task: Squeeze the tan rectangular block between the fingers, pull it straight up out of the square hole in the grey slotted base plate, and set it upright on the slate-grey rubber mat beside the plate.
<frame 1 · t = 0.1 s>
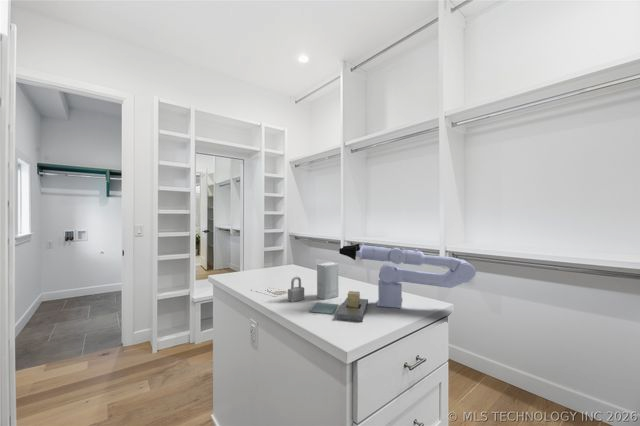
hand: (341, 249, 121), 22 cm above the countertop, tool horizontal, fingers open, 7 cm apart
padlock: (296, 300, 122), on the countertop
grey slotted base plate: (353, 311, 108), on the countertop
tan rectangular block: (353, 302, 108), in the grey slotted base plate
skincare box: (327, 297, 127), on the countertop
grooming comb: (269, 292, 136), on the countertop
rubber mat: (324, 308, 111), on the countertop
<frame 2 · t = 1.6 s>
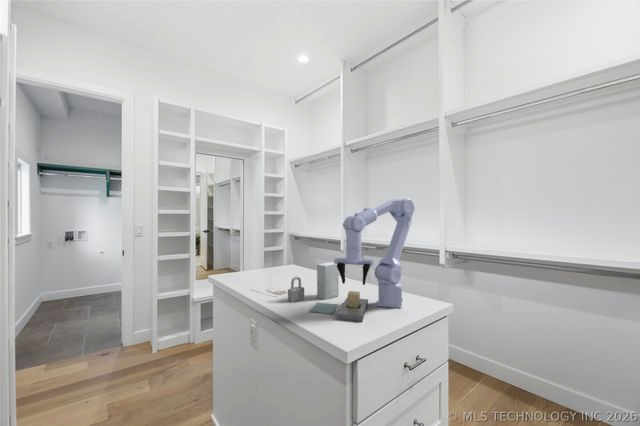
hand: (353, 283, 108), 10 cm above the countertop, tool pointing down, fingers open, 7 cm apart
nothing on the countertop moved.
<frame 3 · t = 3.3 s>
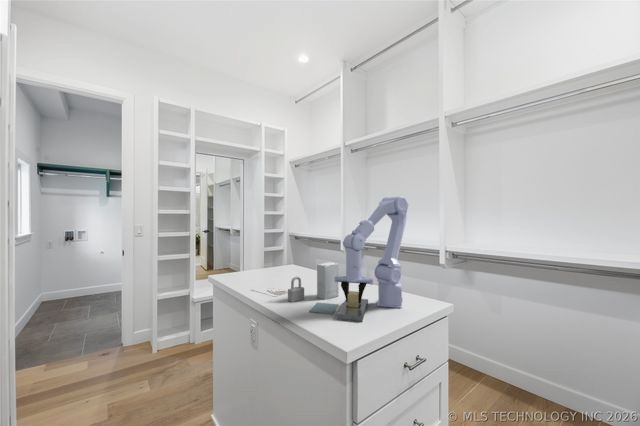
hand: (353, 302, 108), 3 cm above the countertop, tool pointing down, fingers closed on tan rectangular block, 4 cm apart
tan rectangular block: (353, 302, 108), in the grey slotted base plate, touching gripper
everything else where it was.
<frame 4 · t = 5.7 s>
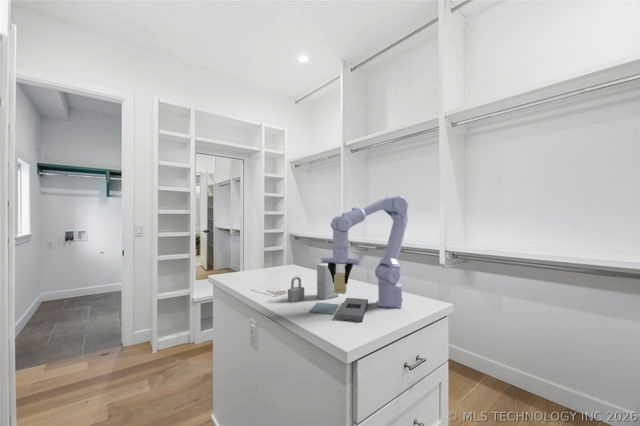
hand: (340, 283, 109), 10 cm above the countertop, tool pointing down, fingers closed on tan rectangular block, 4 cm apart
tan rectangular block: (340, 282, 109), point 10 cm above the countertop, touching gripper
everything else where it was.
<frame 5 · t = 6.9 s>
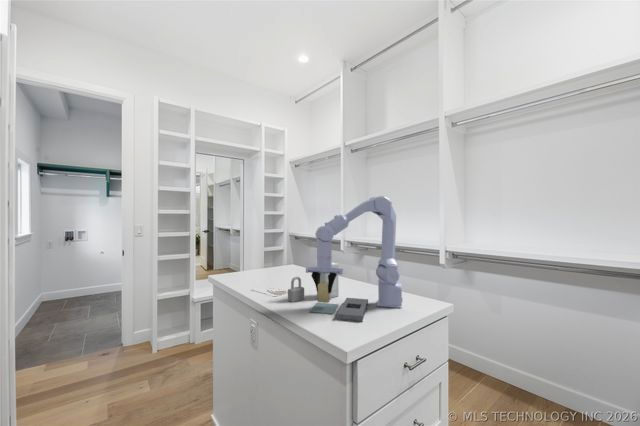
hand: (324, 292, 111), 6 cm above the countertop, tool pointing down, fingers closed on tan rectangular block, 4 cm apart
tan rectangular block: (324, 291, 111), point 6 cm above the countertop, touching gripper
everything else where it was.
when the fingers open (5 cm above the countertop, at t = 8.0 s): tan rectangular block stays where it is, resting on rubber mat.
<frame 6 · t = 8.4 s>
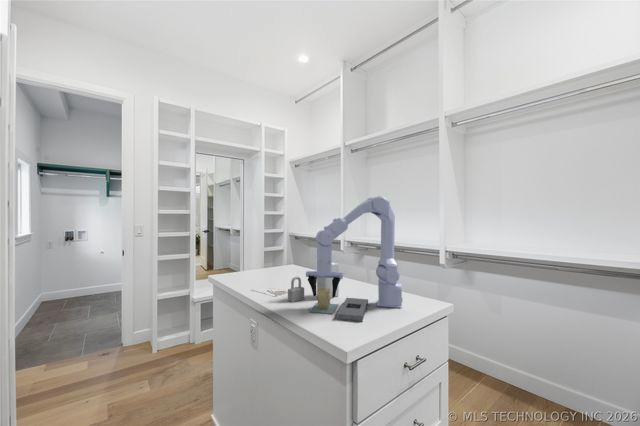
hand: (324, 296, 111), 5 cm above the countertop, tool pointing down, fingers open, 7 cm apart
tan rectangular block: (324, 298, 111), on the rubber mat
everything else where it was.
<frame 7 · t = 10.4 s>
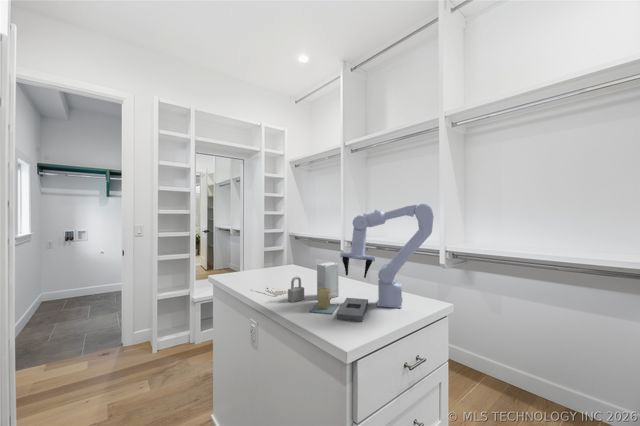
hand: (355, 276, 120), 11 cm above the countertop, tool pointing down, fingers open, 7 cm apart
nothing on the countertop moved.
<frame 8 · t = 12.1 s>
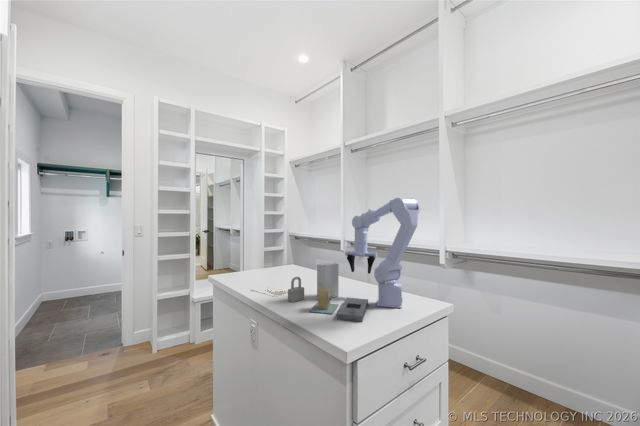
hand: (361, 272, 129), 10 cm above the countertop, tool pointing down, fingers open, 7 cm apart
nothing on the countertop moved.
at the end: tan rectangular block 0.1 cm off-centre on the rubber mat, point 3.9 cm above the rubber mat's base; tan rectangular block tilted 0°; the gripper is holding nothing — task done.
